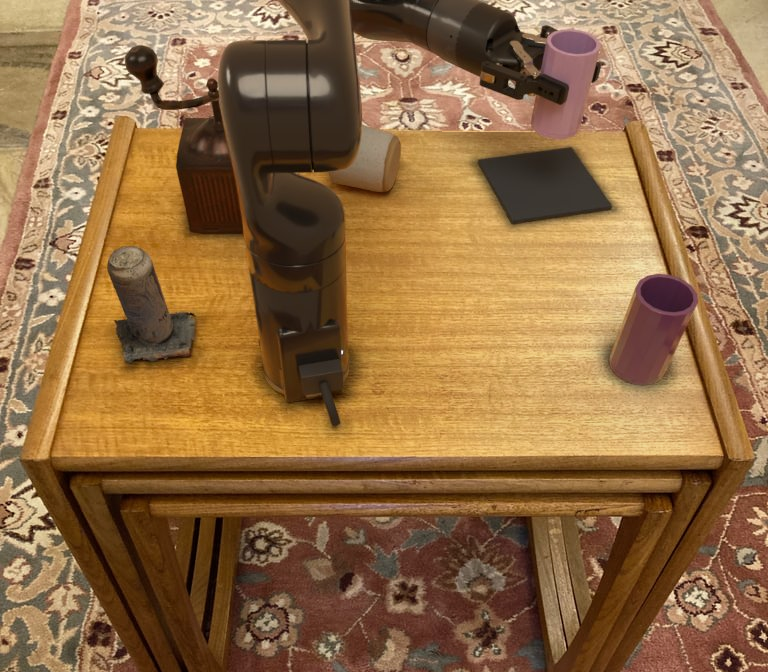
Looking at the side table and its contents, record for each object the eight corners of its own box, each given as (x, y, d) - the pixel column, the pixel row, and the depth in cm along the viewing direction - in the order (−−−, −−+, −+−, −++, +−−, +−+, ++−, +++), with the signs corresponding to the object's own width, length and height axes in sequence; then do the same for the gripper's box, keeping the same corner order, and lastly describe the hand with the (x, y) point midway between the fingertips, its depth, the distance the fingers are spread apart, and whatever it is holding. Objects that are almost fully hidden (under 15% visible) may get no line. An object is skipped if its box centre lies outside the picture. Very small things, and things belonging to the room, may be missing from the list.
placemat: (611, 209, 101) (612, 205, 100) (512, 224, 99) (512, 220, 98) (570, 150, 108) (571, 146, 108) (477, 163, 106) (478, 159, 105)
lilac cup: (588, 123, 97) (609, 40, 89) (564, 145, 94) (584, 61, 86) (545, 107, 99) (563, 23, 91) (521, 127, 96) (537, 43, 88)
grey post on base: (125, 373, 82) (93, 284, 72) (114, 326, 86) (82, 236, 76) (208, 355, 84) (187, 265, 74) (194, 309, 88) (172, 219, 78)
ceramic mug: (387, 205, 100) (389, 149, 94) (328, 194, 101) (326, 137, 95) (407, 162, 106) (410, 106, 100) (351, 152, 107) (350, 96, 101)
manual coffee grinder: (275, 182, 102) (260, 39, 87) (271, 234, 96) (255, 89, 81) (158, 182, 102) (123, 38, 87) (147, 234, 96) (107, 89, 81)
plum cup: (674, 379, 84) (709, 309, 76) (623, 389, 83) (652, 319, 75) (650, 341, 87) (680, 269, 79) (600, 350, 86) (625, 278, 78)
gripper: (438, 23, 90) (555, 74, 84) (509, -16, 96) (623, 29, 91) (433, 87, 97) (541, 139, 91) (500, 46, 103) (606, 93, 97)
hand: (582, 84), depth 91 cm, fingers closed on lilac cup, 6 cm apart
